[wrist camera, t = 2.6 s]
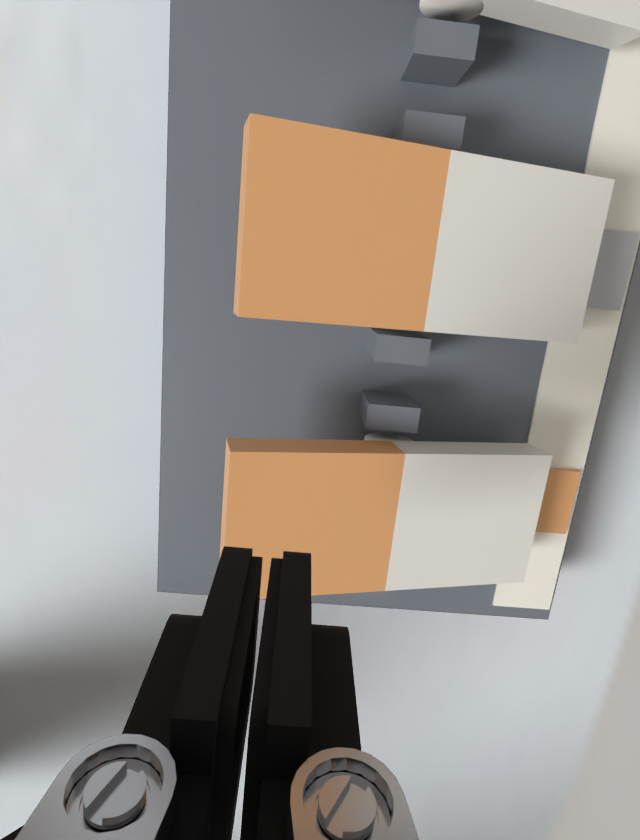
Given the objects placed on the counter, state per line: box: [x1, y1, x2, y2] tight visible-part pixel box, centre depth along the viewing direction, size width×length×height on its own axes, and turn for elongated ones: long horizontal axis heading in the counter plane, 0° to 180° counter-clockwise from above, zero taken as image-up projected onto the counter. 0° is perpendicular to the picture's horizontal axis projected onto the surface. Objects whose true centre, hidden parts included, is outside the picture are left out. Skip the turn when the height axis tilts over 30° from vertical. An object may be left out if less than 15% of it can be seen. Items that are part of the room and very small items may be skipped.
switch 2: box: [219, 433, 553, 599], centre depth 17 cm, size 4×10×2 cm, turn 84°
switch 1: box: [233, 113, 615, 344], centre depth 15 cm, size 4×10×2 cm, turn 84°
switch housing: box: [157, 0, 640, 619], centre depth 17 cm, size 26×15×5 cm, turn 174°
